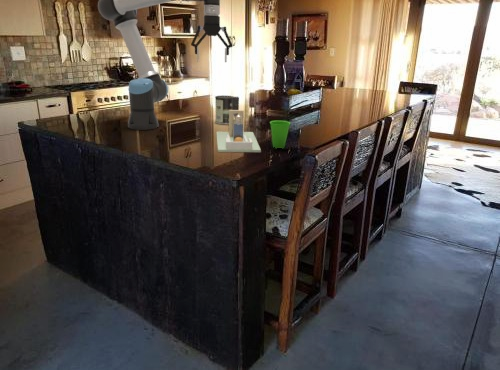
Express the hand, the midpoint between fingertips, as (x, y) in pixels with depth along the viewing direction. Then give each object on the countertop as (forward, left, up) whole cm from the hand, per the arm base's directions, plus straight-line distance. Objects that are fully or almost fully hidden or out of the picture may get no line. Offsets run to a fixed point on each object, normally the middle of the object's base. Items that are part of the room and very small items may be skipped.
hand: (211, 61), depth 195 cm
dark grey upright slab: (+11, -27, -31) cm, 42 cm away
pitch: (+11, -31, -33) cm, 46 cm away
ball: (+11, -41, -30) cm, 52 cm away
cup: (+29, -39, -33) cm, 59 cm away
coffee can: (+7, +11, -33) cm, 35 cm away
